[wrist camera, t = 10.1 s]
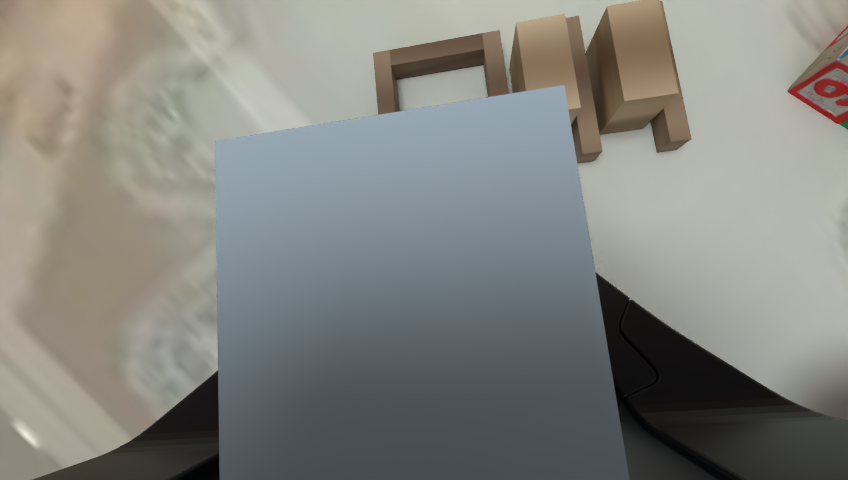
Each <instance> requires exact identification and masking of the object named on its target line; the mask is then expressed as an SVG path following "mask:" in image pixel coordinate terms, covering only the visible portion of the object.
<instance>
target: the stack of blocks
mask: <svg viewBox="0 0 848 480" xmlns="http://www.w3.org/2000/svg"><path fill="white" fill-rule="evenodd" d="M788 92H789V93H790V94H792V95H793V96H795V97H797V98H798V99H800V100H801V101H803V102H804V103H806V104H807V105H809V106H811V107H812V108H814V109H815V110H817V111H818V112H820V113H821V114H823V115H825V116H826V117H828V118H829V119H831V120H832V121H834V122H835V123H838V124H840V125H842V126H843V127H845V128H847V129H848V26H847V27H846V28H845V29H844V30H843V31H842V32H841V34H840V35H839V36H838V37H837V38H836V39H835V40H834V41H833V42H832V43H831V44H830V45H829V47H828V48H827V49H826V50H825V51H824V52H823V53H822V54H821V55H820V56H819V57H818V58H817V59H816V60H815V61H814V62H813V63H812V64H811V65H810V66H809V67H808V68H807V69H806V71H805V72H804V73H803V74H802V75H801V76H800V77H799V78H798V79H797V80H796V81H795V83H794V84H793V85H792V86H791V87H790V88H789V90H788Z"/></svg>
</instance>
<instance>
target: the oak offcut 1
mask: <svg viewBox="0 0 848 480" xmlns="http://www.w3.org/2000/svg"><path fill="white" fill-rule="evenodd" d="M509 69H510V76H511V83H512V90H513V93H517V92H524V91H530V90H536V89H542V88H548V87H555V86H561V85H564V86H565V92H566V98H567V104H568V110H569V116H570V122H571V124H572V122H573V121H574V119H575V117H576V115H577V114H578V112H579V110H580V108H581V105H580V99H579V93H578V88H577V82H576V76H575V70H574V64H573V58H572V52H571V46H570V40H569V34H568V28H567V23H566V17H565V14H562V15H557V16H551V17H546V18H540V19H535V20H529V21H524V22H518V23H516V27H515V34H514V41H513V47H512V54H511V61H510V68H509Z"/></svg>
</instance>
